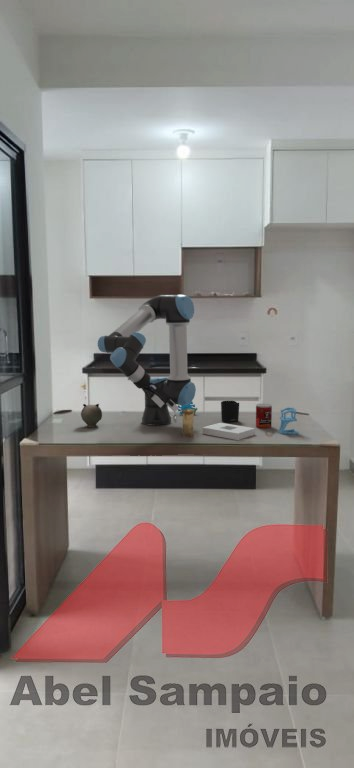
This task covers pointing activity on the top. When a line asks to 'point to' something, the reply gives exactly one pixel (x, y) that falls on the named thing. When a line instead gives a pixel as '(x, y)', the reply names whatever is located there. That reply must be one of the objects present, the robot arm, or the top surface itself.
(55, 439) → the top surface
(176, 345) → the robot arm
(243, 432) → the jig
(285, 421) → the chair
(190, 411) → the brass ball knob
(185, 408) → the gear
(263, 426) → the canned food
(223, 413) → the pen holder
